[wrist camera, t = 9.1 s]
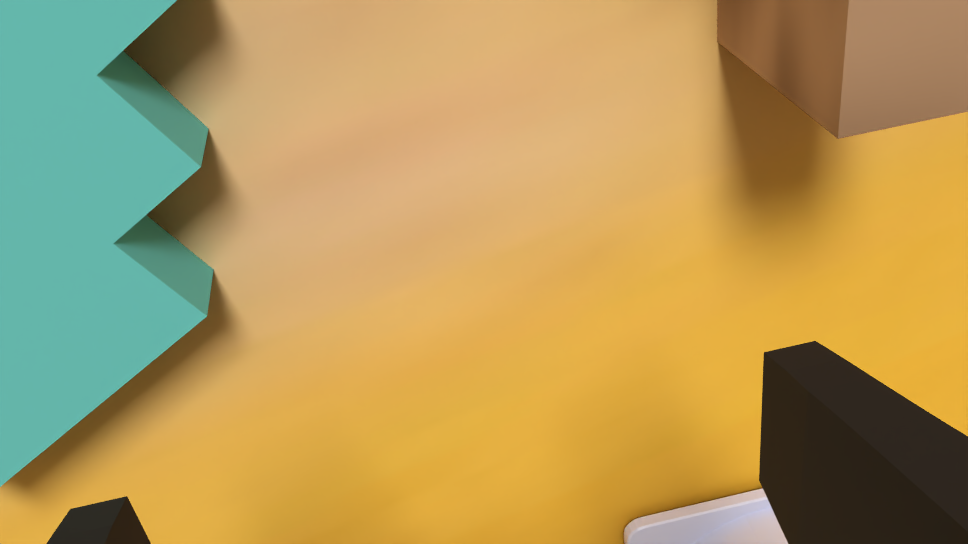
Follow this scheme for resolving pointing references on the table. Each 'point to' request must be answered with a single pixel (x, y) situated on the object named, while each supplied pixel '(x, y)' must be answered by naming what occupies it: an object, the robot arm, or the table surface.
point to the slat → (855, 57)
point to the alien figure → (85, 215)
